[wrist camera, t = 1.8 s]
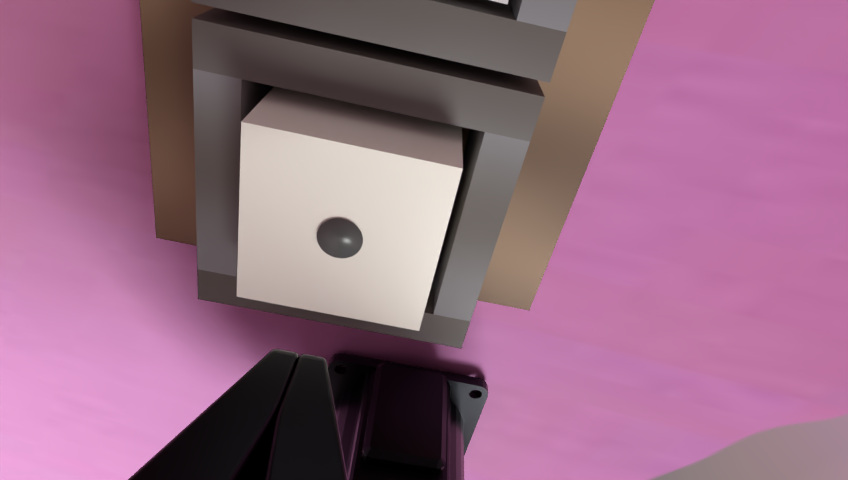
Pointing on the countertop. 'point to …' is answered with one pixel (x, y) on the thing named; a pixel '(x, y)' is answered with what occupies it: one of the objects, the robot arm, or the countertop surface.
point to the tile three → (501, 1)
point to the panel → (401, 93)
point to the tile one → (343, 206)
